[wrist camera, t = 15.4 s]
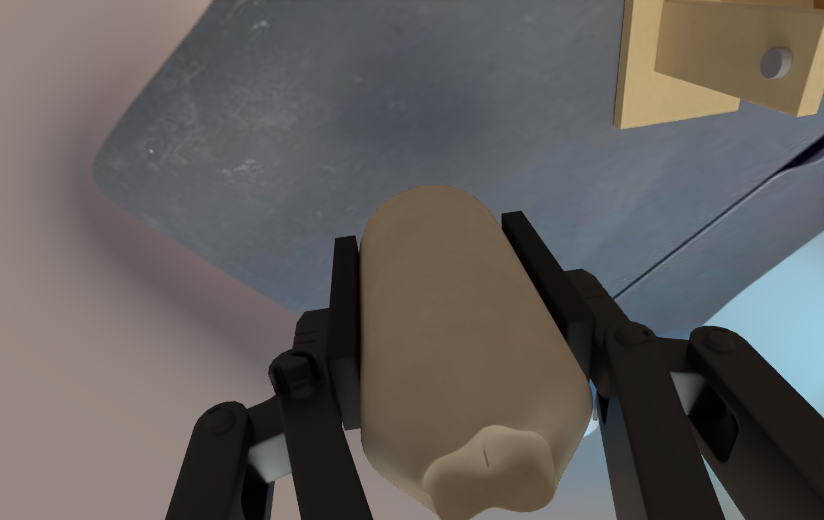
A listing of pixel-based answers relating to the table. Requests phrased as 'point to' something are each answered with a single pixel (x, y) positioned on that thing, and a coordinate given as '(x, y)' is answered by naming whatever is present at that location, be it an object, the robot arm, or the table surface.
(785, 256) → the table surface
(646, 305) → the table surface
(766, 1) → the bracket
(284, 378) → the robot arm
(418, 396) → the candle
